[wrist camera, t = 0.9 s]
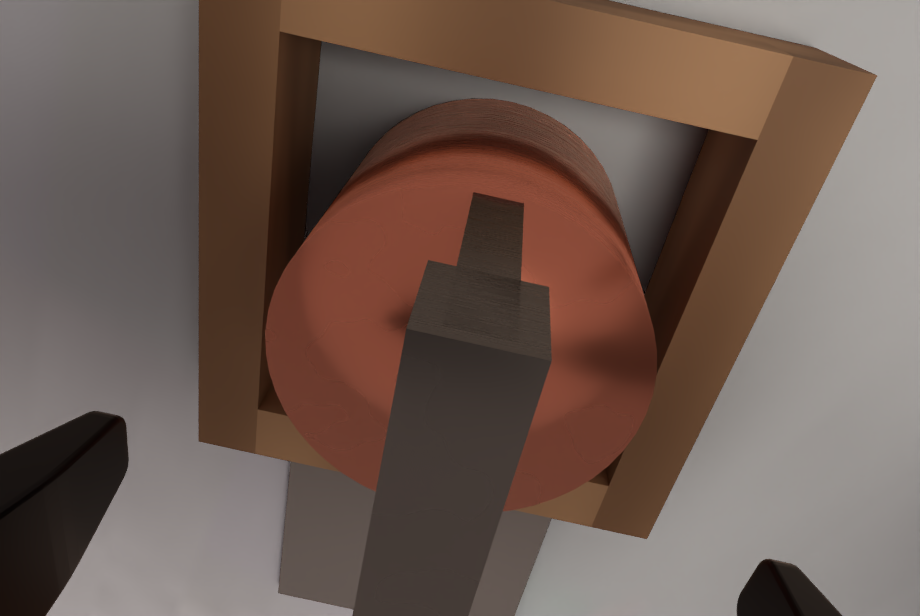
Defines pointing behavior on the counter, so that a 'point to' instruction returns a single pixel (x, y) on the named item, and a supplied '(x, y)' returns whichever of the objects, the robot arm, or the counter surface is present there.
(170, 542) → the counter surface
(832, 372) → the counter surface
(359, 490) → the mat
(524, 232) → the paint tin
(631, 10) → the holder
